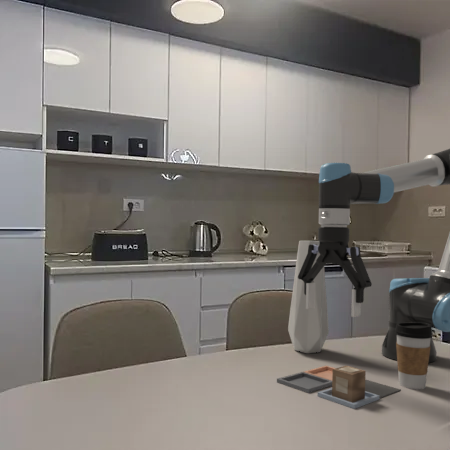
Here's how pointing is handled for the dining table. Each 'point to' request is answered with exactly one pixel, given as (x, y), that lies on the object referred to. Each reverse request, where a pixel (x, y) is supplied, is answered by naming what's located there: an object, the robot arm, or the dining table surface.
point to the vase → (308, 318)
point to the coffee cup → (413, 353)
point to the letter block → (348, 383)
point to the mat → (379, 389)
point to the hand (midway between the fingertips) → (332, 312)
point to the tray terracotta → (322, 372)
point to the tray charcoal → (305, 382)
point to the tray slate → (368, 399)
